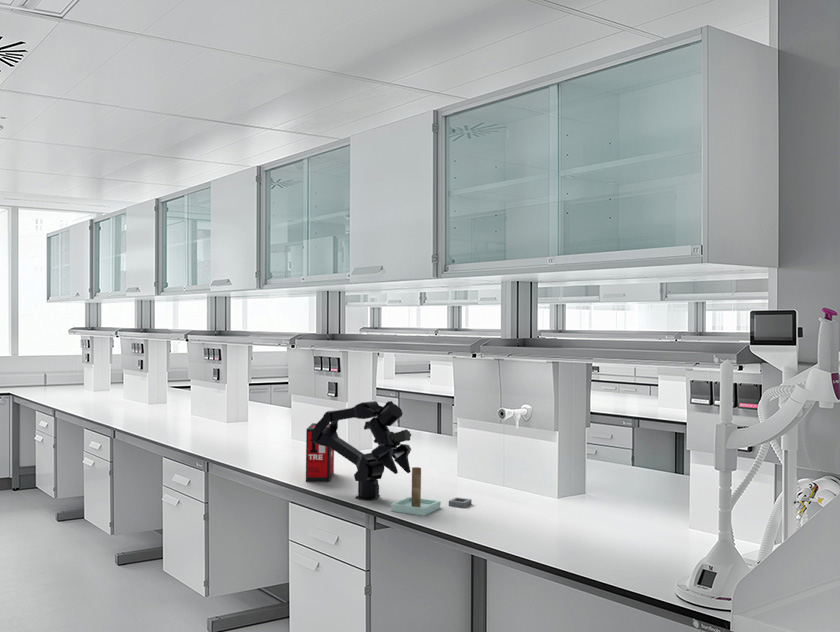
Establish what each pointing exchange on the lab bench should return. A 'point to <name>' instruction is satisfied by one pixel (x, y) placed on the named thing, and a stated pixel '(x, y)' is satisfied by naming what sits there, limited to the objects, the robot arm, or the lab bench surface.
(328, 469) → the cleaning product box
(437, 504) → the tray
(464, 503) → the tray
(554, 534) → the lab bench surface
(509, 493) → the lab bench surface
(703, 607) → the lab bench surface
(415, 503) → the pin
